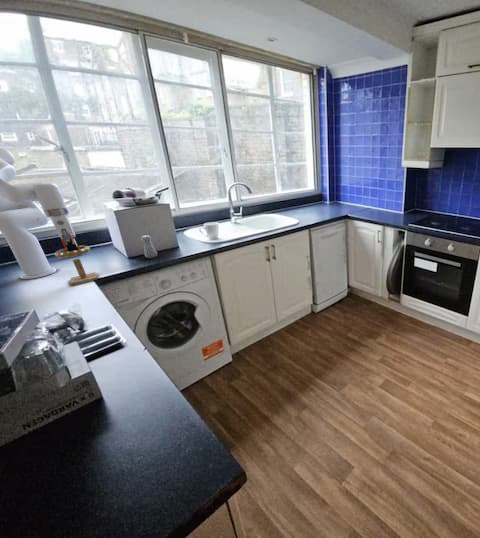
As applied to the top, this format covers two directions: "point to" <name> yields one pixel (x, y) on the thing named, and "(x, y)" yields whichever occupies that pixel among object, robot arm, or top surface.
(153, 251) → the salt shaker
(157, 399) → the top surface
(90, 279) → the peg stand
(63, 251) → the ring
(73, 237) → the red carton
